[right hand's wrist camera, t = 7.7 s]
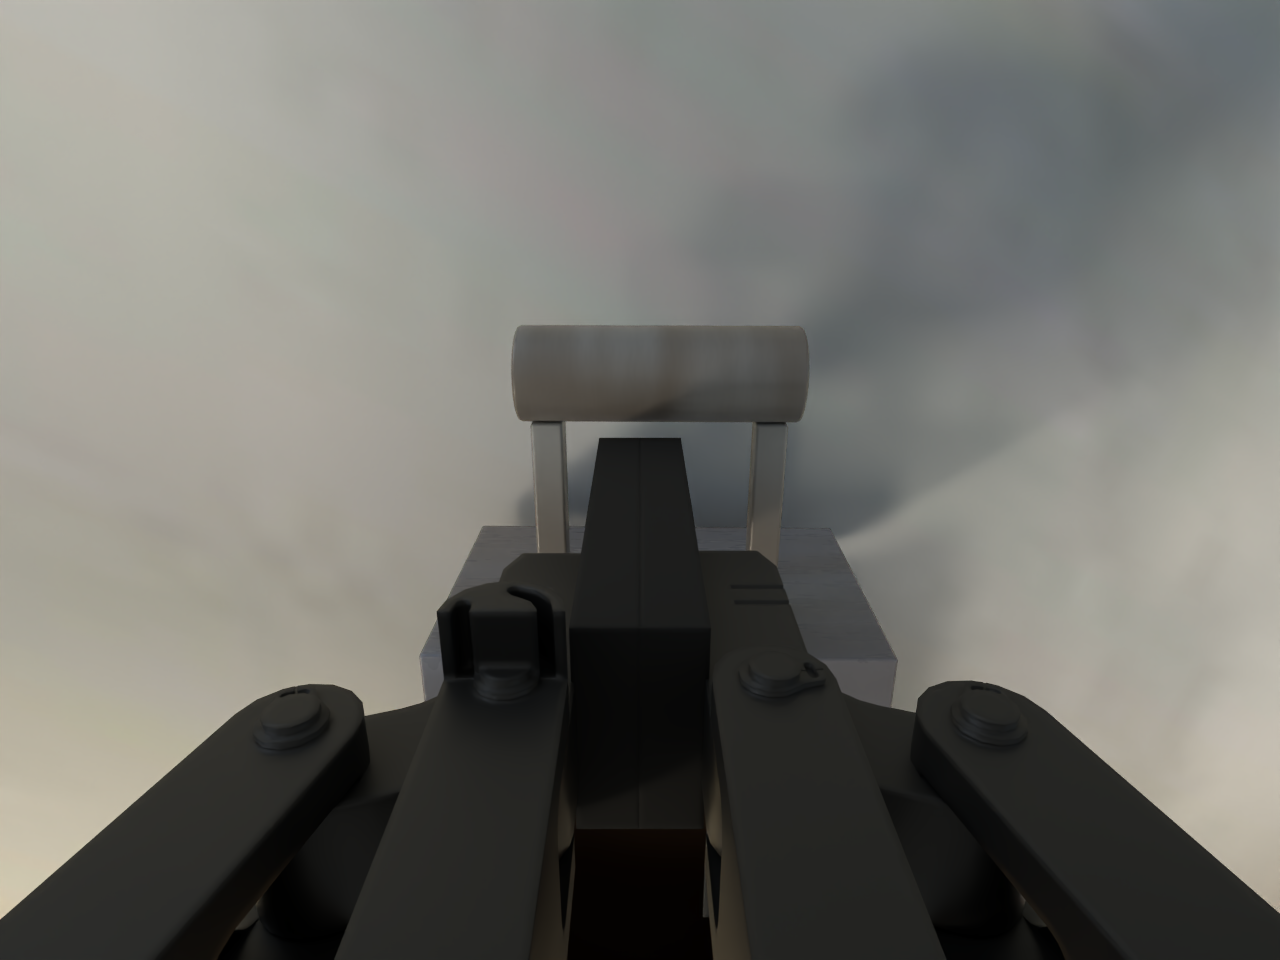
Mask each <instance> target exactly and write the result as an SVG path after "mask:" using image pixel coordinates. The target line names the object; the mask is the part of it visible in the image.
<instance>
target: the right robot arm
mask: <svg viewBox="0 0 1280 960" xmlns="http://www.w3.org/2000/svg"><path fill="white" fill-rule="evenodd" d="M437 619H438V628H439V638H440V647H441V656H442V666H443V675H444V680H443V683H442V686H441V688H440V691H439V693H438V696H436V697H434V698H432V699H430V700H427V701H425V702H423V703H420V704H416V705H413V706H409V707H406V708H402V709H397V710H392V711H388V712H383V713H378V714H373V715H368V716H364V709H363V703H362V701H361V700H360V699H359V698H358V697H357V696H356V695H355V694H354V693H353V692H352V691H350V690H347V689H344V688H341V687H338V686H335V685H322V684H308V685H301V686H297V687H295V686H294V687H290V688H286V689H282V690H280V691H277V692H275V693H272V694H270V695H267V696H265V697H262V698H260V699H257V700H256V701H254V702H253V703H251V704H250V705H248V706H247V707H245V708H244V709H242V710H241V711H239V712H238V713H236V714H235V715H234V716H233V717H232V718H230V719H229V720H228V721H227V722H226V723H225V724H224V725H222V726H221V727H220V728H219V729H218V730H217V731H216V732H214V733H213V734H212V735H211V736H210V737H209V738H208V739H206V740H205V741H204V742H203V743H202V744H201V745H199V746H198V747H197V748H196V749H195V750H194V751H193V752H191V753H190V754H189V755H188V756H187V757H186V758H185V759H183V760H182V761H181V762H180V763H179V764H178V765H177V766H175V767H174V768H173V769H172V770H171V771H170V772H169V773H167V774H166V775H165V776H164V777H163V778H162V779H161V780H159V781H158V782H157V783H156V784H155V785H154V786H153V787H151V788H150V789H149V790H148V791H147V792H146V793H145V794H143V795H142V796H141V797H140V798H139V799H138V800H137V801H135V802H134V803H133V804H132V805H131V806H130V807H129V808H127V809H126V810H125V811H124V812H123V813H122V814H121V815H119V816H118V817H117V818H116V819H115V820H114V821H113V822H111V823H110V824H109V825H108V826H107V827H106V828H105V829H103V830H102V831H101V832H100V833H99V834H98V835H97V836H95V837H94V838H93V839H92V840H91V841H90V842H89V843H87V844H86V845H85V846H84V847H83V848H82V849H81V850H79V851H78V852H77V853H76V854H75V855H74V856H73V857H71V858H70V859H69V860H68V861H67V862H66V863H65V864H63V865H62V866H61V867H60V868H59V869H58V870H57V871H55V872H54V873H53V874H52V875H51V876H50V877H49V878H47V879H46V880H45V881H44V882H43V883H42V884H41V885H39V886H38V887H37V888H36V889H35V890H34V891H33V892H31V893H30V894H29V895H28V896H27V897H26V898H25V899H23V900H22V901H21V902H20V903H19V904H18V905H17V906H15V907H14V908H13V909H12V910H11V911H10V912H9V913H7V914H6V915H5V916H4V917H3V918H2V919H1V920H0V960H567V952H568V941H569V930H570V919H571V908H572V897H573V887H574V876H575V847H574V827H575V817H576V829H704V813H705V823H706V847H705V872H704V898H703V917H709V918H710V929H711V940H712V951H713V960H1280V913H1278V912H1277V911H1276V910H1275V909H1274V908H1273V907H1271V906H1270V905H1269V904H1268V903H1267V902H1266V901H1265V900H1263V899H1262V898H1261V897H1260V896H1259V895H1258V894H1256V893H1255V892H1254V891H1253V890H1252V889H1251V888H1250V887H1248V886H1247V885H1246V884H1245V883H1244V882H1243V881H1241V880H1240V879H1239V878H1238V877H1237V876H1236V875H1235V874H1233V873H1232V872H1231V871H1230V870H1229V869H1228V868H1227V867H1225V866H1224V865H1223V864H1222V863H1221V862H1220V861H1218V860H1217V859H1216V858H1215V857H1214V856H1213V855H1212V854H1210V853H1209V852H1208V851H1207V850H1206V849H1205V848H1203V847H1202V846H1201V845H1200V844H1199V843H1198V842H1197V841H1195V840H1194V839H1193V838H1192V837H1191V836H1190V835H1188V834H1187V833H1186V832H1185V831H1184V830H1183V829H1182V828H1180V827H1179V826H1178V825H1177V824H1176V823H1175V822H1173V821H1172V820H1171V819H1170V818H1169V817H1168V816H1167V815H1165V814H1164V813H1163V812H1162V811H1161V810H1160V809H1158V808H1157V807H1156V806H1155V805H1154V804H1153V803H1152V802H1150V801H1149V800H1148V799H1147V798H1146V797H1145V796H1143V795H1142V794H1141V793H1140V792H1139V791H1138V790H1137V789H1135V788H1134V787H1133V786H1132V785H1131V784H1130V783H1128V782H1127V781H1126V780H1125V779H1124V778H1123V777H1122V776H1120V775H1119V774H1118V773H1117V772H1116V771H1115V770H1114V769H1112V768H1111V767H1110V766H1109V765H1108V764H1107V763H1105V762H1104V761H1103V760H1102V759H1101V758H1100V757H1099V756H1097V755H1096V754H1095V753H1094V752H1093V751H1092V750H1090V749H1089V748H1088V747H1087V746H1086V745H1085V744H1084V743H1082V742H1081V741H1080V740H1079V739H1078V738H1077V737H1075V736H1074V735H1073V734H1072V733H1071V732H1070V731H1069V730H1067V729H1066V728H1065V727H1064V726H1063V725H1062V724H1060V723H1059V722H1058V721H1057V720H1056V719H1055V718H1054V717H1052V716H1051V715H1050V714H1049V713H1048V712H1047V711H1045V710H1044V709H1042V708H1041V707H1039V706H1038V705H1036V704H1035V703H1033V702H1032V701H1030V700H1029V699H1027V698H1026V697H1024V696H1022V695H1020V694H1017V693H1015V692H1012V691H1010V690H1007V689H1005V688H1002V687H1000V686H997V685H993V684H989V683H983V682H976V681H947V682H944V683H941V684H938V685H935V686H932V687H929V688H928V689H927V690H926V691H925V692H924V693H923V694H922V695H921V696H920V697H919V698H918V703H917V709H916V713H913V712H909V711H904V710H899V709H894V708H889V707H884V706H880V705H876V704H872V703H868V702H865V701H861V700H858V699H856V698H854V697H851V696H849V695H847V694H844V693H842V692H841V690H840V687H839V684H838V682H837V679H836V678H835V676H834V675H833V673H832V672H831V671H830V669H829V668H828V667H827V665H826V664H824V663H823V662H821V661H820V660H818V659H817V658H815V657H814V656H812V655H810V654H809V653H808V652H807V649H806V647H805V644H804V641H803V638H802V635H801V633H800V630H799V627H798V624H797V621H796V619H795V616H794V613H793V610H792V607H791V605H790V604H789V599H788V596H787V594H786V591H785V589H784V588H783V582H782V580H781V577H780V574H779V571H778V568H777V566H776V565H774V564H773V563H772V562H771V561H769V560H768V559H767V558H766V557H765V556H763V555H762V554H761V553H760V552H758V551H699V550H698V543H697V537H696V531H695V525H694V519H693V512H692V506H691V500H690V494H689V487H688V481H687V475H686V469H685V462H684V456H683V450H682V444H681V438H599V444H598V450H597V456H596V462H595V469H594V475H593V481H592V487H591V494H590V500H589V506H588V512H587V518H586V525H585V531H584V537H583V543H582V550H581V553H522V554H521V555H520V556H519V557H517V558H516V559H515V560H514V561H513V562H511V563H510V564H509V565H508V566H506V567H505V568H504V569H503V571H502V574H501V577H500V580H499V582H493V583H486V584H482V585H479V586H475V587H472V588H468V589H465V590H463V591H461V592H459V593H458V594H456V595H454V596H452V597H450V598H449V599H447V600H446V601H445V602H444V604H443V605H442V606H441V607H440V608H439V609H438V611H437Z"/></svg>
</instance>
